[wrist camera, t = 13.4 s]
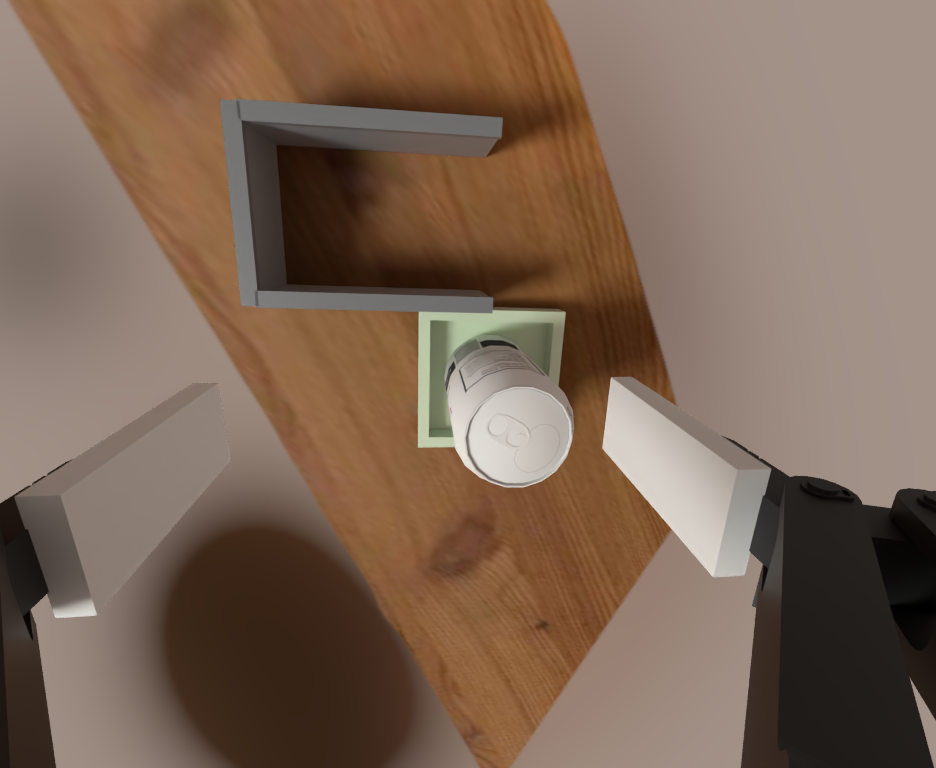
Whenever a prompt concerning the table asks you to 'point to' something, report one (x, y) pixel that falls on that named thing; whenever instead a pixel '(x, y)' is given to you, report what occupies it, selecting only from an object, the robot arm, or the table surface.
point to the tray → (449, 330)
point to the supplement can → (506, 413)
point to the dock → (326, 126)
